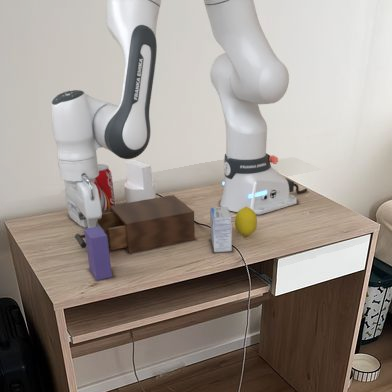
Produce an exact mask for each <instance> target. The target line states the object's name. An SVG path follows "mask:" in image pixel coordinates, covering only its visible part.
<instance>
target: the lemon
mask: <svg viewBox="0 0 392 392" xmlns="http://www.w3.org/2000/svg"><path fill="white" fill-rule="evenodd" d="M234 218H235V219H234V228H235V230H236V232H237V233H238V234H239V235H241V236H242V237H244V238H248V237H249V236H250V235H252V234H253V233H255V232H256V229H257V226H258V218H257V214H255V212H254V211H253V210H252V209H250V208H248V207H245V208H242V209H240V210H239V211H238V212H236V214H235V217H234Z"/></svg>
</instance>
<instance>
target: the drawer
mask: <svg viewBox="0 0 392 392" xmlns="http://www.w3.org/2000/svg"><path fill="white" fill-rule="evenodd" d="M87 225H88V223H87ZM97 226H100V227H101V229H102V230H103V231H104V232H105V234H106V235H107V239H108V247H109V250H111V251H114V250H119V249H123V248H124V249H125V247H128V244H127V235H126V226H125V225H124V223H123V222H122V221H121V220H120V219H119V218H118V217H117V216H116V215H115V214H114V212H110V211H106V212H102V218H101V219H97V222H96V227H97ZM74 238H75V240H76V241H77V243H78V244H79V246H80V247H81V248H82V249H85V248H87V247H86V240H84V239H85V234H84V233H83V234H79V233H76V234H75V235H74Z"/></svg>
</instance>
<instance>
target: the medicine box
mask: <svg viewBox="0 0 392 392" xmlns="http://www.w3.org/2000/svg"><path fill="white" fill-rule="evenodd" d="M209 209H210V210H209V213H210V214H209V215H210V240H211V244H212V248H213V252H214V253H225V252H226V253H227V252H232V251H233V230H232V229H233V228H232V227H233V226H232V225H233V223H232V222H233V220H232V216H231V213H230V211H229V210H228V207H221V206H214V207H210V208H209Z"/></svg>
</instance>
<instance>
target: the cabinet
mask: <svg viewBox="0 0 392 392" xmlns="http://www.w3.org/2000/svg"><path fill="white" fill-rule="evenodd" d="M109 212H114V214H115V215H116V216H117V217H118V218H119V219H120V220H121V221H122V222H123V223H124V225H125V226H126V235H127V244H128V247H124V249H125V250H126V251H127V253H129V254H133V253H138V252H142V251H143V252H144V251H148V250H153V249H157V248H163V247H168V246H171V245H177V244H178V245H179V244H182V243H187V242H192V241H195V240H196V231H195V230H196V229H195V227H196V226H195V211H194V210H193V209H192V208H190V206H188V205H187V204H186V203H184V202H183V201H182V200H181V199H179V197H177V196H175V195H174V194H171V195H165V196H160V197H156V198H153V199H147V200H141V201H136V202H130V203H126V202H124V203H119V204H115V205H112V206H110V210H109Z"/></svg>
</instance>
